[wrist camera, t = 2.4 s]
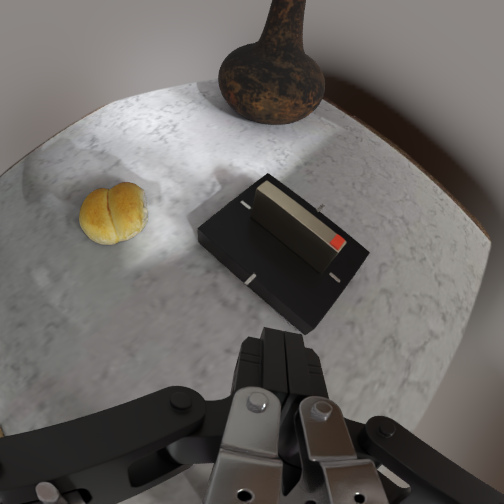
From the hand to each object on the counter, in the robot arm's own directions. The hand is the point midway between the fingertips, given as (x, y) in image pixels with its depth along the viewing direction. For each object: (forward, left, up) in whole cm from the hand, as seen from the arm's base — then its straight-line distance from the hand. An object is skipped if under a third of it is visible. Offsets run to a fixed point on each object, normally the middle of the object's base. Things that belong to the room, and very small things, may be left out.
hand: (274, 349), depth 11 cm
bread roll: (-23, +3, -19) cm, 30 cm away
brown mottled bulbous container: (-25, +35, -19) cm, 47 cm away
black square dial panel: (-5, +14, -18) cm, 24 cm away
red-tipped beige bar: (-5, +14, -15) cm, 22 cm away
